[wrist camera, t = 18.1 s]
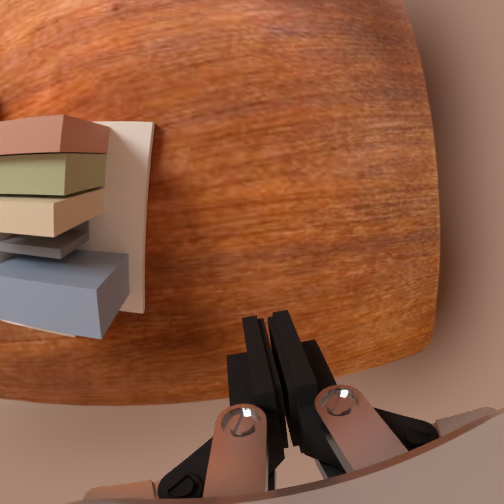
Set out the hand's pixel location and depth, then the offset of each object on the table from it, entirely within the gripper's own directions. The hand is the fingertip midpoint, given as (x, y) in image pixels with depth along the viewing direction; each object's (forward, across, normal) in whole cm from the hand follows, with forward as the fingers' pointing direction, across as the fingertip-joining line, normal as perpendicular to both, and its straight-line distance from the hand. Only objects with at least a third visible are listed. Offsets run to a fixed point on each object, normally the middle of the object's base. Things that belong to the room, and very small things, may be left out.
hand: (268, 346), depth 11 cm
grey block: (+17, +16, +1) cm, 24 cm away
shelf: (+19, +15, -4) cm, 24 cm away
